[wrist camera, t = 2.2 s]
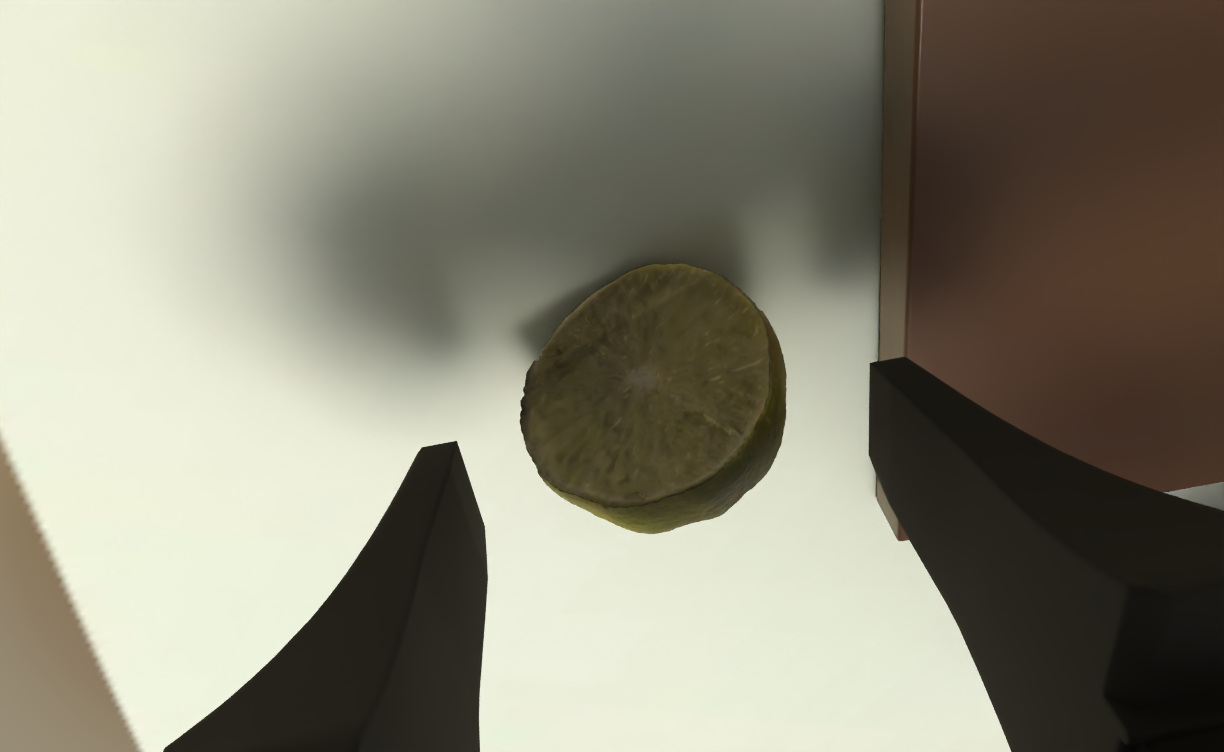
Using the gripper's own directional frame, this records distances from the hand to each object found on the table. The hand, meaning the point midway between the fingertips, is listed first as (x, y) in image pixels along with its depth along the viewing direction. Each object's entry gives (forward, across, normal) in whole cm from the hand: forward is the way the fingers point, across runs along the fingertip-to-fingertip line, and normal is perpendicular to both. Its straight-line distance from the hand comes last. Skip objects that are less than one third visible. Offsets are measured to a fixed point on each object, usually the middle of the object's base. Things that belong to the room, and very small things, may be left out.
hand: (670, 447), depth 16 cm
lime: (+4, 0, 0) cm, 4 cm away
